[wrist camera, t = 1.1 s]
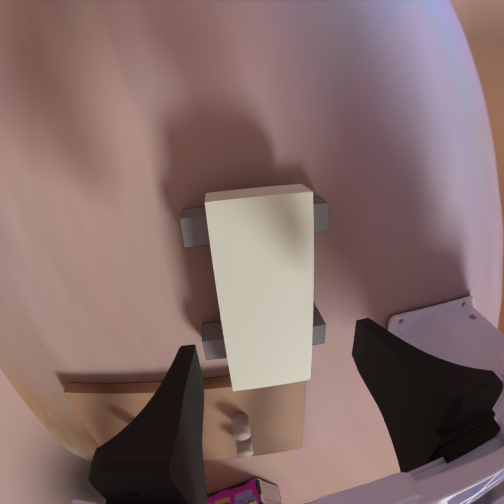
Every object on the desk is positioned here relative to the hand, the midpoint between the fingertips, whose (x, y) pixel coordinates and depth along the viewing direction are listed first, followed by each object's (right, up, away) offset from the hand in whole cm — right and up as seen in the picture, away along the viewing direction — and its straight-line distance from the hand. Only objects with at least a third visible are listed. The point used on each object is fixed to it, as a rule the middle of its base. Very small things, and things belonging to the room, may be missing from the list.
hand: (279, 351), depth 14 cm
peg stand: (-7, -11, +12) cm, 17 cm away
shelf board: (-1, +2, +5) cm, 6 cm away
